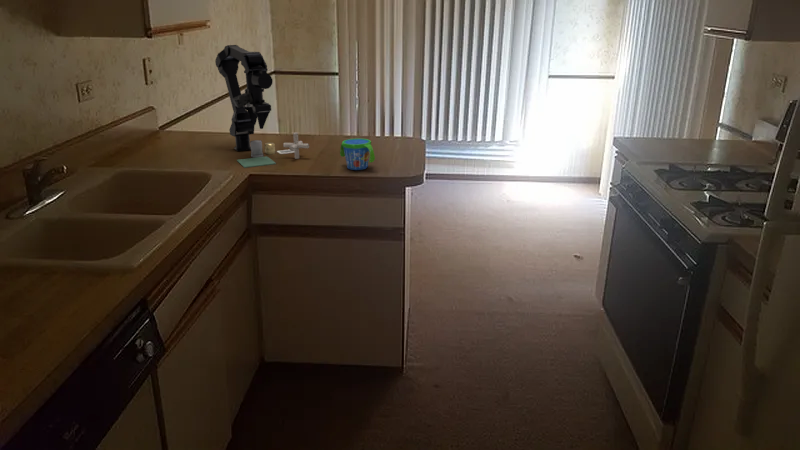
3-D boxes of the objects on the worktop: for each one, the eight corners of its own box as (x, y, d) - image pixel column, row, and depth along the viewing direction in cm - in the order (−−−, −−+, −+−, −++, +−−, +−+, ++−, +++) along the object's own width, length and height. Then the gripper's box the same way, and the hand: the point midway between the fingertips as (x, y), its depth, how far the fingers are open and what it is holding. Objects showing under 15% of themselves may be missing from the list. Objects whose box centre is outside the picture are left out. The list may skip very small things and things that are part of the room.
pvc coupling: (249, 155, 248) (248, 140, 246) (261, 154, 250) (260, 139, 248) (252, 158, 244) (251, 143, 242) (264, 156, 246) (263, 141, 244)
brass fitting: (264, 152, 253) (263, 143, 251) (273, 151, 254) (273, 142, 253) (266, 155, 249) (266, 145, 248) (276, 153, 251) (275, 144, 250)
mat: (236, 160, 240) (236, 159, 240) (267, 157, 246) (267, 156, 245) (244, 167, 230) (244, 166, 230) (275, 164, 236) (275, 163, 235)
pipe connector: (304, 161, 238) (303, 136, 235) (280, 160, 240) (278, 135, 237) (313, 155, 248) (312, 130, 244) (289, 154, 250) (288, 130, 246)
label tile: (276, 151, 254) (276, 150, 254) (295, 149, 258) (295, 148, 258) (280, 154, 250) (280, 153, 250) (299, 152, 254) (299, 151, 254)
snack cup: (333, 166, 231) (331, 140, 228) (354, 162, 238) (354, 135, 235) (360, 175, 221) (359, 146, 217) (382, 169, 228) (381, 142, 224)
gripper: (226, 84, 241) (230, 124, 246) (240, 90, 226) (244, 133, 231) (254, 82, 246) (257, 122, 251) (270, 88, 231) (273, 130, 236)
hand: (257, 126), depth 242 cm, fingers open, 9 cm apart
